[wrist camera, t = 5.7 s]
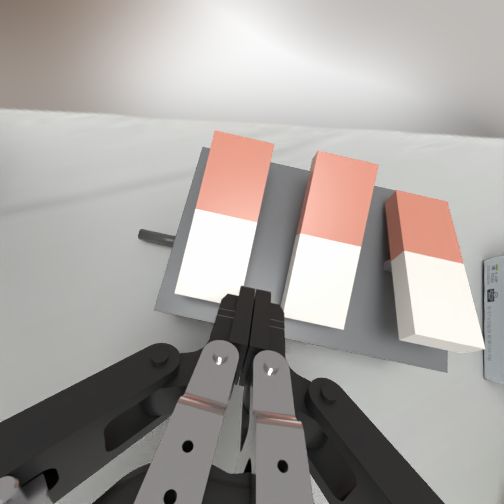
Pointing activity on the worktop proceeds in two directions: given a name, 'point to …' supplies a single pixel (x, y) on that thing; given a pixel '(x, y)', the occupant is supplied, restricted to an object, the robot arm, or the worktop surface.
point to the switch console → (277, 265)
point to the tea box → (494, 319)
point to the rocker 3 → (430, 276)
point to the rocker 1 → (225, 218)
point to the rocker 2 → (328, 240)
